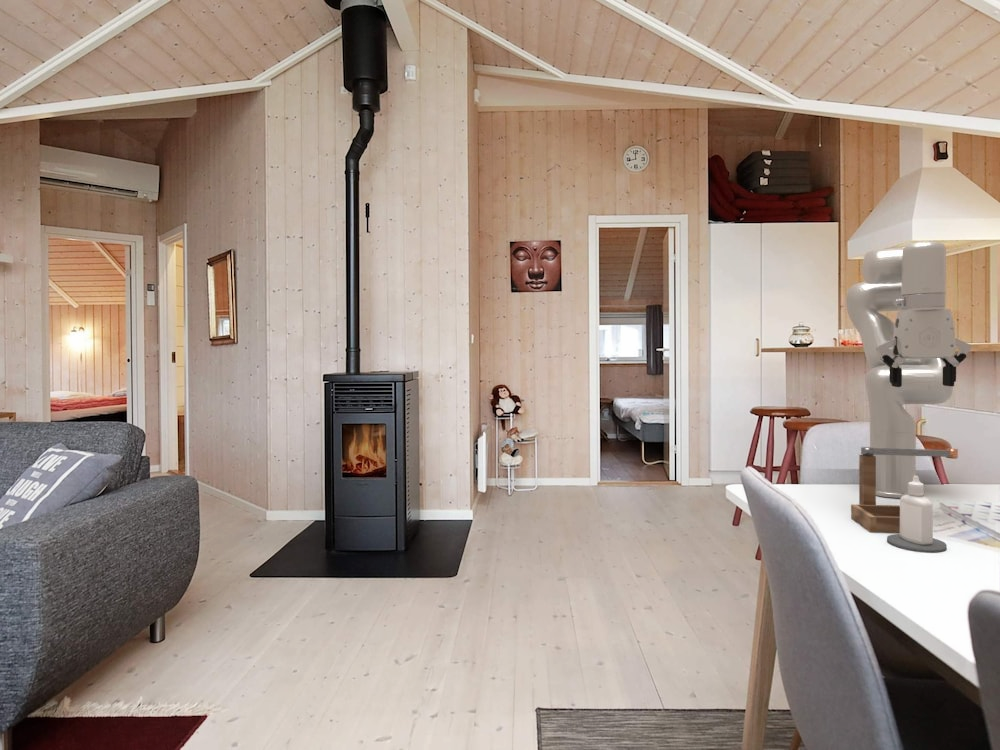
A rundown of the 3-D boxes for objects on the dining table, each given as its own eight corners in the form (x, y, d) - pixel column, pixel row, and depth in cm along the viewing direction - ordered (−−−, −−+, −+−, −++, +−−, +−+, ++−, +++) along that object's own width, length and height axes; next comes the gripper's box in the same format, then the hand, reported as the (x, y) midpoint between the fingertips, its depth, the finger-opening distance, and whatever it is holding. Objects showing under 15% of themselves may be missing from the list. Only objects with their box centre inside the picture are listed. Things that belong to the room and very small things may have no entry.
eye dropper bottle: (905, 544, 110) (905, 478, 109) (898, 535, 115) (898, 472, 114) (934, 546, 108) (934, 479, 108) (925, 537, 113) (925, 473, 113)
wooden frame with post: (840, 510, 135) (840, 454, 135) (890, 512, 133) (890, 454, 133) (870, 532, 119) (870, 468, 119) (927, 534, 117) (927, 469, 117)
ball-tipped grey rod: (862, 455, 132) (862, 447, 132) (859, 454, 134) (859, 446, 134) (959, 458, 126) (959, 450, 126) (955, 456, 128) (955, 448, 128)
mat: (878, 536, 117) (878, 533, 117) (931, 537, 115) (931, 534, 115) (900, 551, 108) (900, 548, 108) (957, 553, 106) (957, 550, 106)
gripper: (884, 304, 123) (884, 388, 124) (981, 300, 120) (979, 387, 121) (869, 306, 131) (869, 385, 132) (960, 303, 127) (959, 384, 128)
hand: (922, 386), depth 126 cm, fingers open, 9 cm apart
